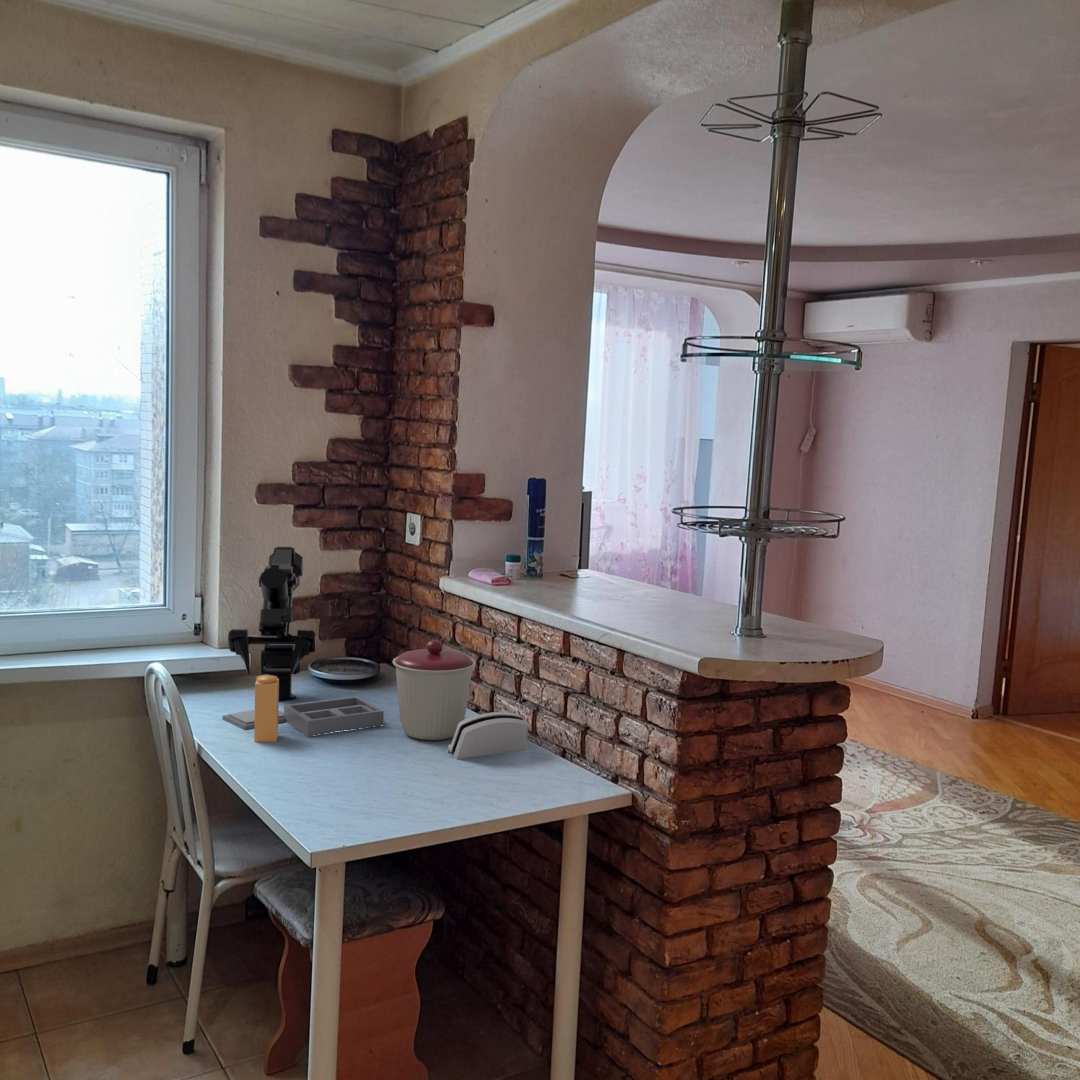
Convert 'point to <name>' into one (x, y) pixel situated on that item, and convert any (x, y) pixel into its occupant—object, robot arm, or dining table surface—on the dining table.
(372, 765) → the dining table surface
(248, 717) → the lid
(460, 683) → the canister
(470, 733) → the napkin holder
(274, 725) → the post
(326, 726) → the tray
